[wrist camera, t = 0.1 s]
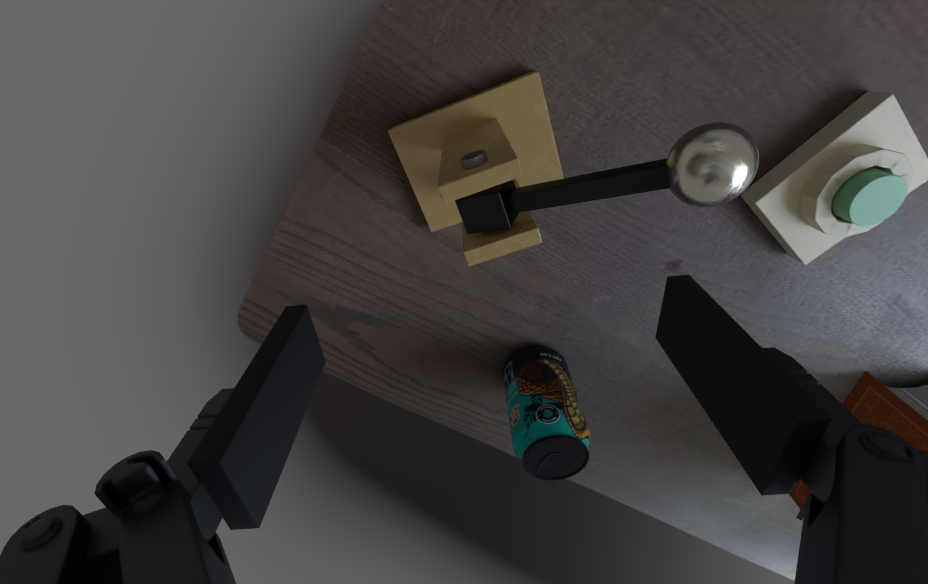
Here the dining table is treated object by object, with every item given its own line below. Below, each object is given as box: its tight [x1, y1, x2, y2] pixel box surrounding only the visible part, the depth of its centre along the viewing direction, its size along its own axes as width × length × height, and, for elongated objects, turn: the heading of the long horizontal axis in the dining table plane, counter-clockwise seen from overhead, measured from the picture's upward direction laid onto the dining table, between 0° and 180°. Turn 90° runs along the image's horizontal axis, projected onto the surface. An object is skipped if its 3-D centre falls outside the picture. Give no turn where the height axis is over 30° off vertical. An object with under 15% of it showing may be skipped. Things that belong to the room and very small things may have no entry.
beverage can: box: [503, 347, 591, 480], centre depth 41 cm, size 7×7×12 cm
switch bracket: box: [388, 70, 564, 266], centre depth 29 cm, size 12×9×14 cm
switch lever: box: [455, 122, 759, 234], centre depth 21 cm, size 14×4×4 cm, turn 110°
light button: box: [832, 169, 907, 226], centre depth 32 cm, size 4×4×2 cm
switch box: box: [741, 91, 928, 265], centre depth 34 cm, size 11×9×4 cm
